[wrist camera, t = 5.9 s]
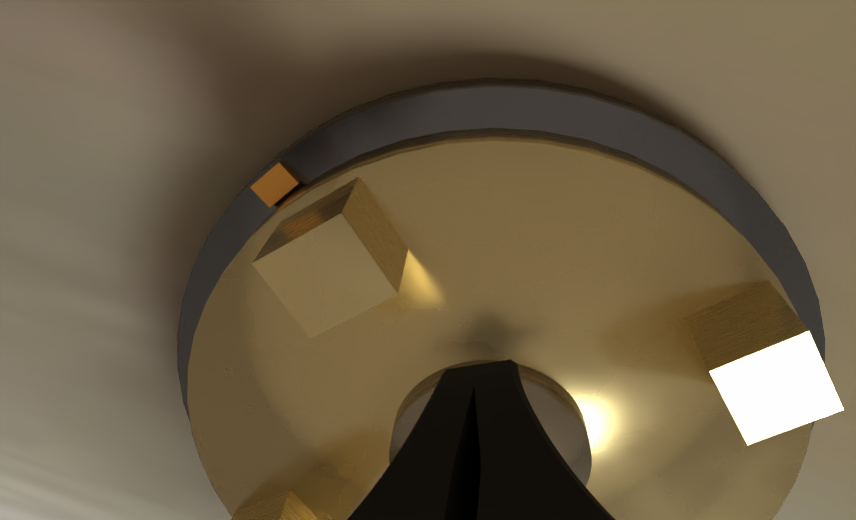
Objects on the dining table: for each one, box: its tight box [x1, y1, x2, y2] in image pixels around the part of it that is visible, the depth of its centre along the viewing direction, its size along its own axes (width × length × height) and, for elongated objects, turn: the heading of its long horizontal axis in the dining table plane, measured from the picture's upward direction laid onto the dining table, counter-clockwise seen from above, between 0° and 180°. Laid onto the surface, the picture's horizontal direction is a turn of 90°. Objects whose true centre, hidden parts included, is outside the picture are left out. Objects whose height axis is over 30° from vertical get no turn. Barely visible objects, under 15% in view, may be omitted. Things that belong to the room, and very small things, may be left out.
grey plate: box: [178, 78, 825, 430], centre depth 23 cm, size 21×21×1 cm
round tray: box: [187, 128, 844, 520], centre depth 21 cm, size 19×19×4 cm
